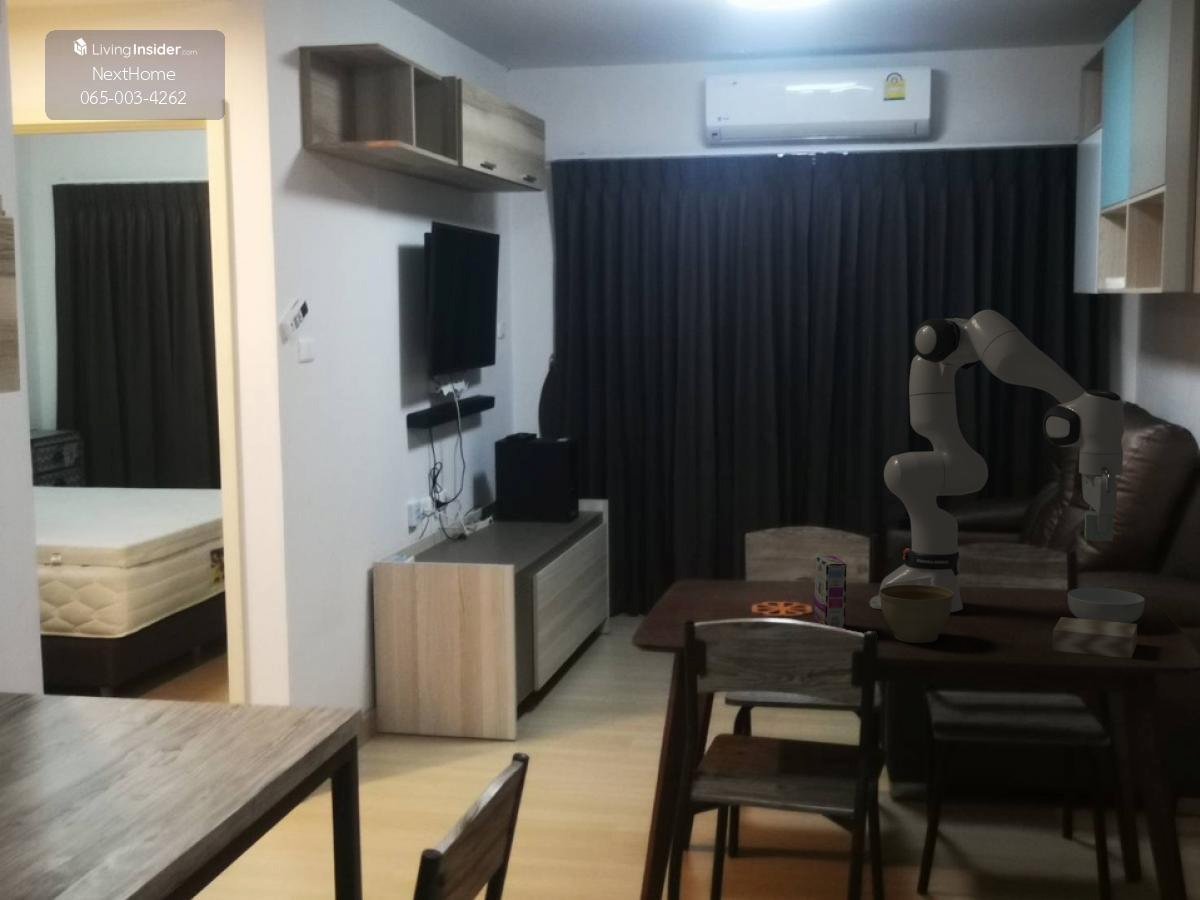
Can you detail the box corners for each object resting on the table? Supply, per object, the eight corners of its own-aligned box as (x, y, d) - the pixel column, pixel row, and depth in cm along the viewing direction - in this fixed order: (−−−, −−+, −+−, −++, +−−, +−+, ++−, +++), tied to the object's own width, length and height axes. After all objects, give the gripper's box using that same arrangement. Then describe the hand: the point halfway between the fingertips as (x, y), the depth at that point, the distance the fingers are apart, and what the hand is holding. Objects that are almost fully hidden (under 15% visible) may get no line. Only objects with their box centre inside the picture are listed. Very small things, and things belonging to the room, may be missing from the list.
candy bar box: (846, 634, 307) (847, 563, 305) (825, 635, 307) (825, 564, 305) (834, 622, 318) (834, 554, 316) (813, 623, 318) (814, 555, 316)
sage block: (1085, 539, 289) (1086, 514, 289) (1084, 535, 295) (1085, 510, 294) (1112, 541, 288) (1113, 515, 287) (1111, 536, 293) (1111, 511, 292)
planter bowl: (885, 627, 313) (885, 582, 312) (956, 633, 307) (957, 586, 306) (873, 644, 298) (873, 596, 297) (947, 650, 292) (948, 601, 291)
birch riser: (1052, 652, 292) (1053, 629, 291) (1060, 638, 303) (1061, 617, 303) (1131, 660, 285) (1132, 637, 284) (1136, 646, 296) (1137, 623, 296)
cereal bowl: (1079, 633, 307) (1079, 602, 306) (1057, 616, 323) (1058, 587, 322) (1154, 633, 306) (1155, 603, 305) (1129, 616, 322) (1130, 587, 322)
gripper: (1125, 471, 279) (1123, 537, 280) (1107, 460, 299) (1105, 521, 300) (1093, 471, 280) (1091, 536, 281) (1077, 459, 300) (1075, 520, 301)
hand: (1098, 528), depth 291 cm, fingers closed on sage block, 6 cm apart
